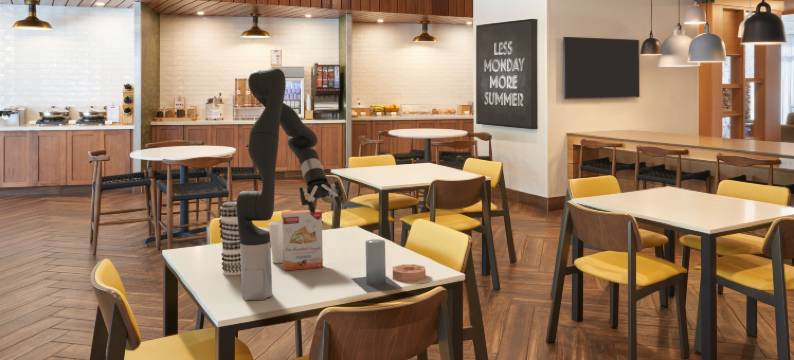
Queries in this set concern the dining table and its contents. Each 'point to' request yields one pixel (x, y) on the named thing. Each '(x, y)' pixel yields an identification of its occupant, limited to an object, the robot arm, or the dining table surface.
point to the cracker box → (302, 239)
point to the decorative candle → (230, 239)
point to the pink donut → (409, 272)
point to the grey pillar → (375, 262)
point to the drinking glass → (276, 241)
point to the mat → (388, 286)
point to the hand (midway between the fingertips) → (326, 209)
